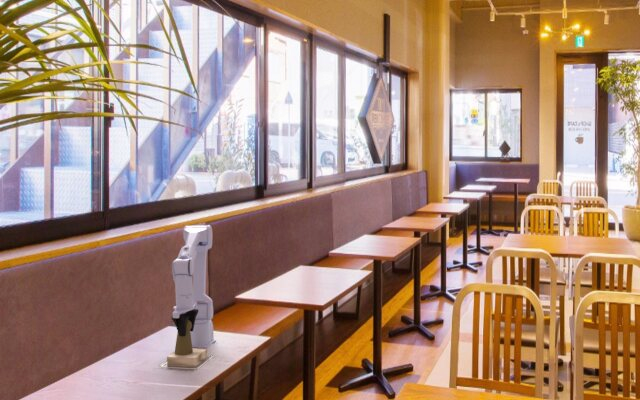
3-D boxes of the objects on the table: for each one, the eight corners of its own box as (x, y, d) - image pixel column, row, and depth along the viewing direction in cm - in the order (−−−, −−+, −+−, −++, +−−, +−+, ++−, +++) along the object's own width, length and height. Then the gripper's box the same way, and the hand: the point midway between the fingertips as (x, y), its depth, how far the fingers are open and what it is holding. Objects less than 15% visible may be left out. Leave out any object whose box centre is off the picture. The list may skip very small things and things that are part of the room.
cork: (189, 355, 224) (189, 324, 223) (172, 354, 225) (172, 322, 224) (195, 349, 230) (195, 318, 229) (178, 348, 231) (178, 317, 229)
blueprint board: (176, 353, 237) (176, 352, 237) (215, 356, 233) (215, 354, 233) (154, 369, 222) (154, 367, 222) (195, 372, 218) (195, 370, 218)
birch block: (180, 356, 233) (180, 347, 233) (207, 357, 231) (206, 349, 231) (167, 365, 224) (166, 356, 224) (194, 367, 221) (194, 358, 221)
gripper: (183, 288, 233) (184, 327, 234) (163, 298, 219) (165, 339, 221) (201, 289, 231) (203, 327, 233) (182, 299, 217) (184, 340, 219)
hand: (186, 333), depth 226 cm, fingers closed on cork, 5 cm apart
